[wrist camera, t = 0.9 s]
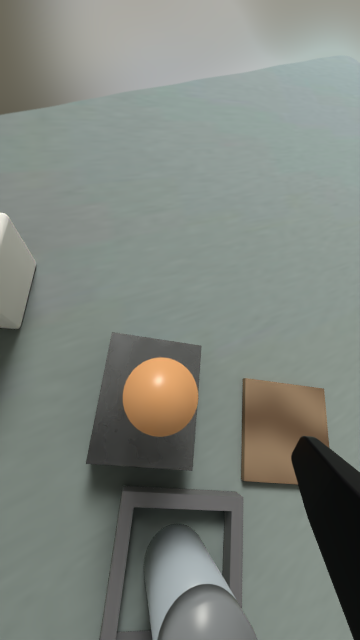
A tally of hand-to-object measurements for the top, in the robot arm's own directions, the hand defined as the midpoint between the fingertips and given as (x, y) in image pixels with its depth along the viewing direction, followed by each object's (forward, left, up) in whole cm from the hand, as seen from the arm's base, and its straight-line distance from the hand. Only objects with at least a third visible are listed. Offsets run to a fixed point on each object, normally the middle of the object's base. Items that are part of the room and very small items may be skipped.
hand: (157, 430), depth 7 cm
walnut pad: (0, -15, -17) cm, 22 cm away
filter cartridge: (-11, -5, -17) cm, 20 cm away
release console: (+1, -1, -17) cm, 17 cm away
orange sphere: (+1, -1, -12) cm, 12 cm away
